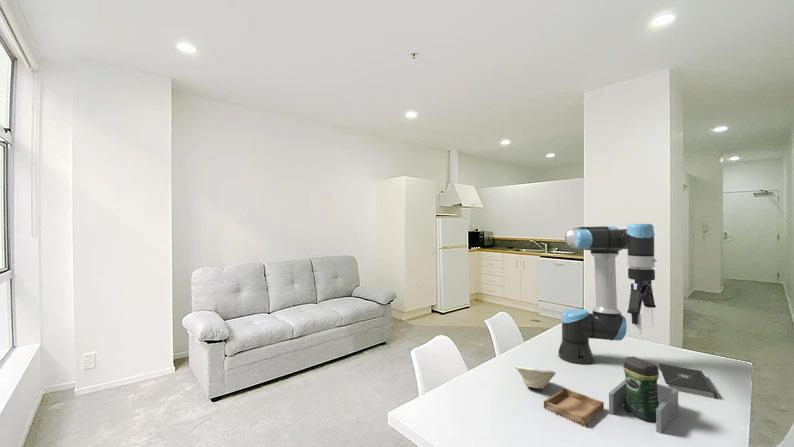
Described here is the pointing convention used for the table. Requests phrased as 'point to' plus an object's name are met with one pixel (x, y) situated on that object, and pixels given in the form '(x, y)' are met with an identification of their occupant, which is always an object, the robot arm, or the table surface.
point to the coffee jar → (641, 388)
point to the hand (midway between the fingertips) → (642, 329)
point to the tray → (574, 406)
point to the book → (687, 380)
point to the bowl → (535, 376)
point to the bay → (663, 411)
